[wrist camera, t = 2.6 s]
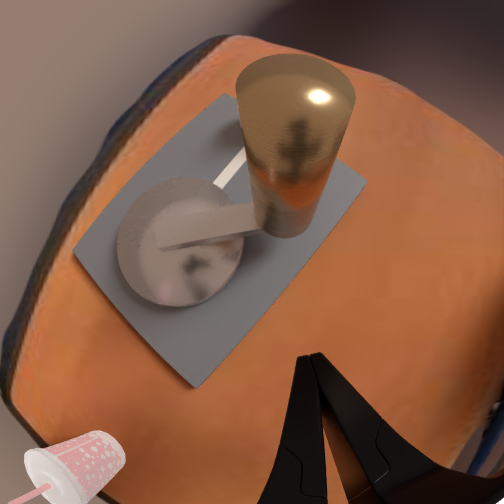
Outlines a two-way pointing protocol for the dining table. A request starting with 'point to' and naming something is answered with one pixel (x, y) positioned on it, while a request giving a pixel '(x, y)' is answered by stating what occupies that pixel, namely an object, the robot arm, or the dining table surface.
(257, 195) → the wall lamp
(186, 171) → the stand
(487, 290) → the dining table surface
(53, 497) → the beverage cup
